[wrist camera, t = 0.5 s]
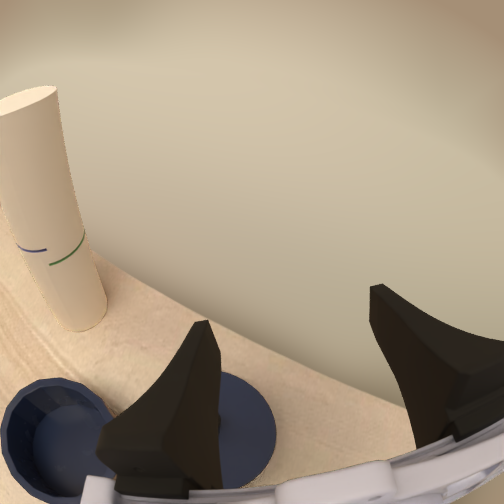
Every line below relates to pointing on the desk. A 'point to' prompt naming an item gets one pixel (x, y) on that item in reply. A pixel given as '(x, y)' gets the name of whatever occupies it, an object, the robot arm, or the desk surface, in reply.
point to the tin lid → (243, 432)
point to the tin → (54, 439)
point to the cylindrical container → (47, 208)
